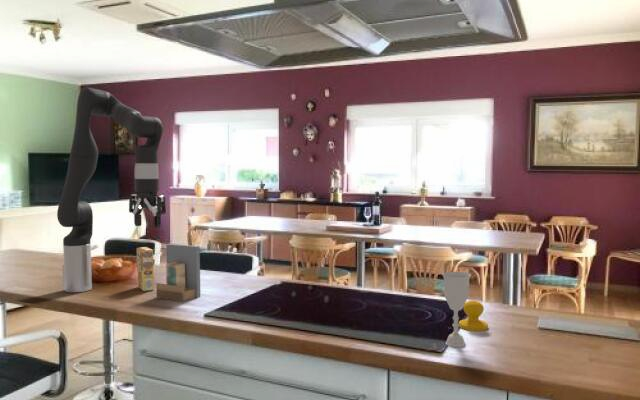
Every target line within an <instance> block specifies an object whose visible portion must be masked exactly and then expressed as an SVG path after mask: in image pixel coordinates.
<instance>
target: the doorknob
mask: <svg viewBox="0 0 640 400" xmlns="http://www.w3.org/2000/svg"><path fill="white" fill-rule="evenodd" d="M484 308H485V307H484V304H483V303H481V302H480V301H477V300H473V299H472V300H468V301H466V302H465V304H464V306H463V308H462V310H463V312H464V313H465V314H466V315H467V318H465V319H461V320H458V324H459V325H460V326H459V327H458V328H461V329H462V330H466V331H472V332H481V331H486V330H488V329H489V323H488V322H487V321H484V320H482V319H479V318H480V317H481V315H482V314H483V313H484V310H485V309H484Z"/></svg>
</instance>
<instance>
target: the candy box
mask: <svg viewBox="0 0 640 400" xmlns="http://www.w3.org/2000/svg"><path fill="white" fill-rule="evenodd" d="M136 267H137V268H136V269H137V288H138V289H140V290H142V292H148V291H154V290H155V271H154V249H152V248H149V247H147V246H142V247H136Z"/></svg>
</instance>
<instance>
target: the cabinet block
mask: <svg viewBox="0 0 640 400" xmlns="http://www.w3.org/2000/svg"><path fill="white" fill-rule="evenodd" d="M165 273H166V274H165V276H166V277H165V279H166V280H165V281H166V283H165V284H168V285H176V286H184V289H185V263H177V262H173V263H168V264H167V263H165Z"/></svg>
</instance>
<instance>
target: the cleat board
mask: <svg viewBox="0 0 640 400" xmlns="http://www.w3.org/2000/svg"><path fill="white" fill-rule="evenodd" d="M200 247H201V246H199V245H187V244H179V243H178V244H176V243H167V244H166V251H165V252H166V264H168V263H173V262H177V263H185V289H184V286H176V285H168V284H166V283H161V282H159V283H158V282H157V283H155V285H156V287H155V288H156V289H155V290H156V298H157V299H164V300H170V301H177V302H185V301H189V300H192V299H195V298H196V299H199V298H201V258H200V256H201V254H200V253H201V251H200V250H201V249H200Z"/></svg>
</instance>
